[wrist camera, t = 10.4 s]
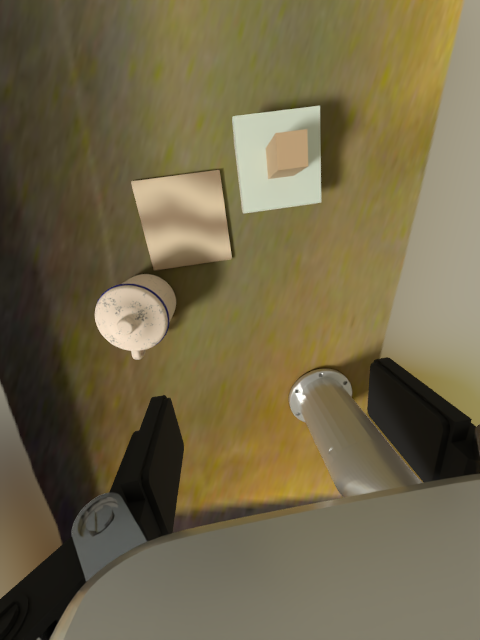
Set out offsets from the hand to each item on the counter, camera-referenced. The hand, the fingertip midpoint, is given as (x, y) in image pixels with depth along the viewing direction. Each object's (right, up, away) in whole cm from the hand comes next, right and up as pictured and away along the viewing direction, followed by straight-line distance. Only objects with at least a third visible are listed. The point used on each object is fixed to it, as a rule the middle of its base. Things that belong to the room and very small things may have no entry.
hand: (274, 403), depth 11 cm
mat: (-10, +18, +25) cm, 32 cm away
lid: (+3, +23, +19) cm, 30 cm away
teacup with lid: (-16, +6, +29) cm, 34 cm away
